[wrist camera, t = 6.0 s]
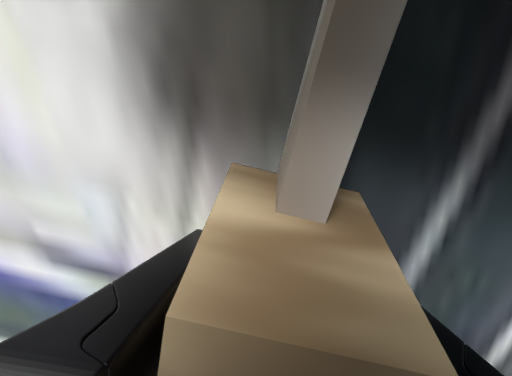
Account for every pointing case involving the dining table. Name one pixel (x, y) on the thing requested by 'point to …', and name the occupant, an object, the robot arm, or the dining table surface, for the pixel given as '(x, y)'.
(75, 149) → the dining table surface
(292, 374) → the wooden mallet
